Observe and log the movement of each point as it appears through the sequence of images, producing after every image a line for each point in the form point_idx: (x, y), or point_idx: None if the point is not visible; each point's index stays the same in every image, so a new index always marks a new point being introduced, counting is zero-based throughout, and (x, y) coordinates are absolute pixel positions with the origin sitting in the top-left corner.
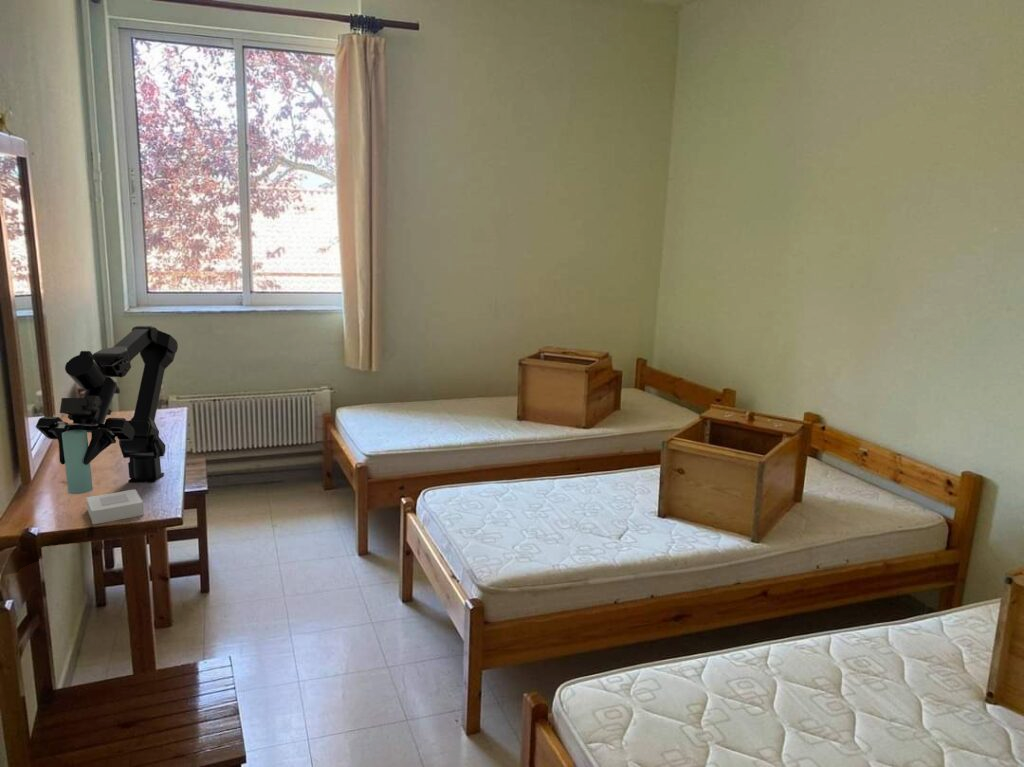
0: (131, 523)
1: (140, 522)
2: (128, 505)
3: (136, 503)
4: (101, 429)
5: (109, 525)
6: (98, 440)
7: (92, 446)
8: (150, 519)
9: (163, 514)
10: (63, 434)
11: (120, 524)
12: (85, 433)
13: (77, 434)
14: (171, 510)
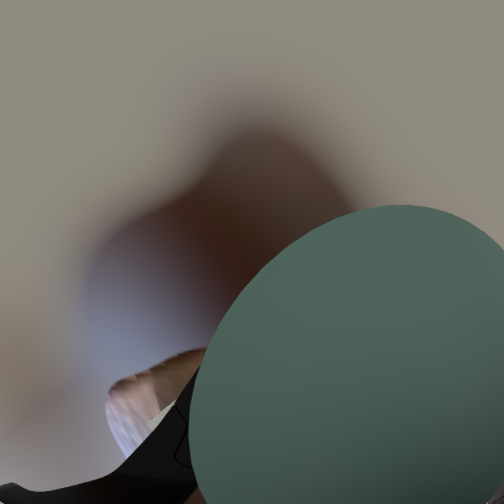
0: (161, 366)
1: (144, 373)
2: (172, 402)
3: (157, 414)
4: (6, 495)
5: (206, 348)
6: (127, 468)
7: (175, 411)
8: (133, 393)
9: (124, 423)
10: (480, 240)
11: (183, 357)
12: (197, 461)
13: (250, 301)
14: (123, 446)
